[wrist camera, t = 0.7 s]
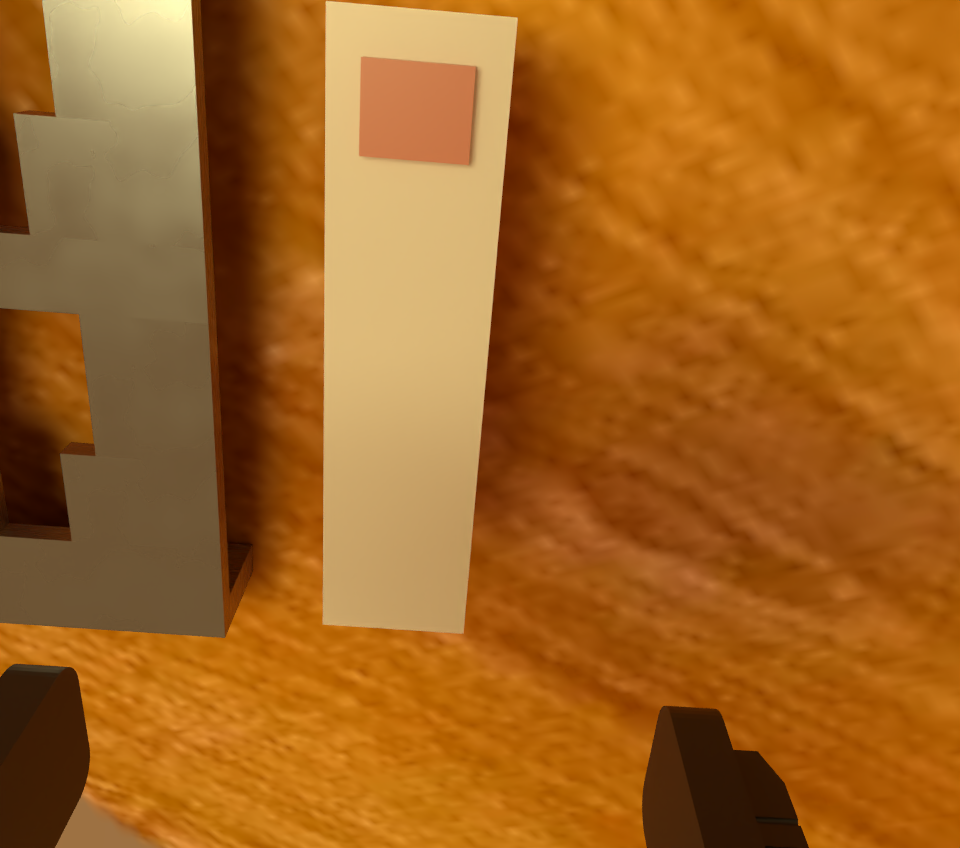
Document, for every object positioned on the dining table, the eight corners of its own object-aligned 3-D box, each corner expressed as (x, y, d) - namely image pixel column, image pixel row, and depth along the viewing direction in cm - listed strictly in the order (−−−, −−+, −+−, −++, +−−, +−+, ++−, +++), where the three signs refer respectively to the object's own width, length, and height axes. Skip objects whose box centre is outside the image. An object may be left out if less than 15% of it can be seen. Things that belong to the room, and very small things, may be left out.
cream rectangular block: (371, 5, 25) (322, 0, 18) (508, 16, 26) (518, 18, 18) (359, 487, 32) (320, 633, 25) (468, 495, 32) (463, 642, 25)
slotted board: (-227, -214, 23) (-359, -256, 20) (227, -172, 24) (180, -206, 20) (-64, 549, 33) (-131, 613, 30) (253, 570, 34) (224, 637, 30)
